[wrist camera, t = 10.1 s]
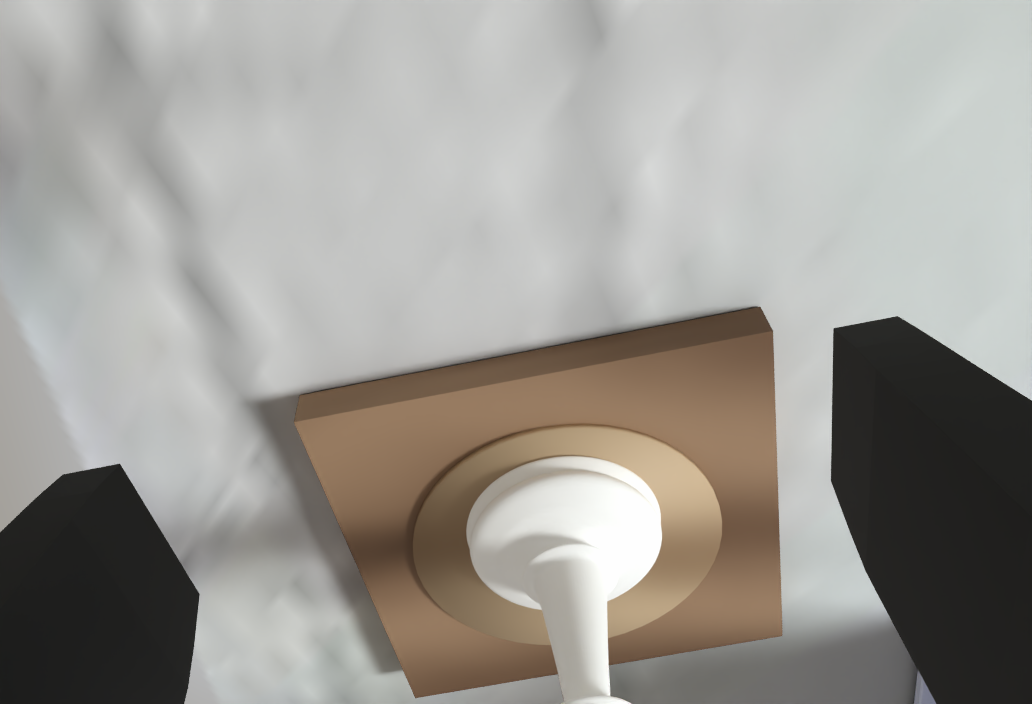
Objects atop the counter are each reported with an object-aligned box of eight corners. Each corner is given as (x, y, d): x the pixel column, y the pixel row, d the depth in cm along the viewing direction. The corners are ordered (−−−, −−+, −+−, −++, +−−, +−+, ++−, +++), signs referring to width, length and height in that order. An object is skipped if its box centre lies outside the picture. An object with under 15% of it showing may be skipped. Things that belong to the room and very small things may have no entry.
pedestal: (772, 608, 27) (784, 641, 26) (416, 669, 28) (415, 704, 27) (760, 306, 21) (775, 336, 20) (299, 395, 22) (292, 427, 21)
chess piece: (519, 614, 25) (553, 1055, 17) (430, 501, 22) (419, 961, 14) (687, 551, 24) (811, 990, 16) (615, 425, 21) (719, 874, 13)
